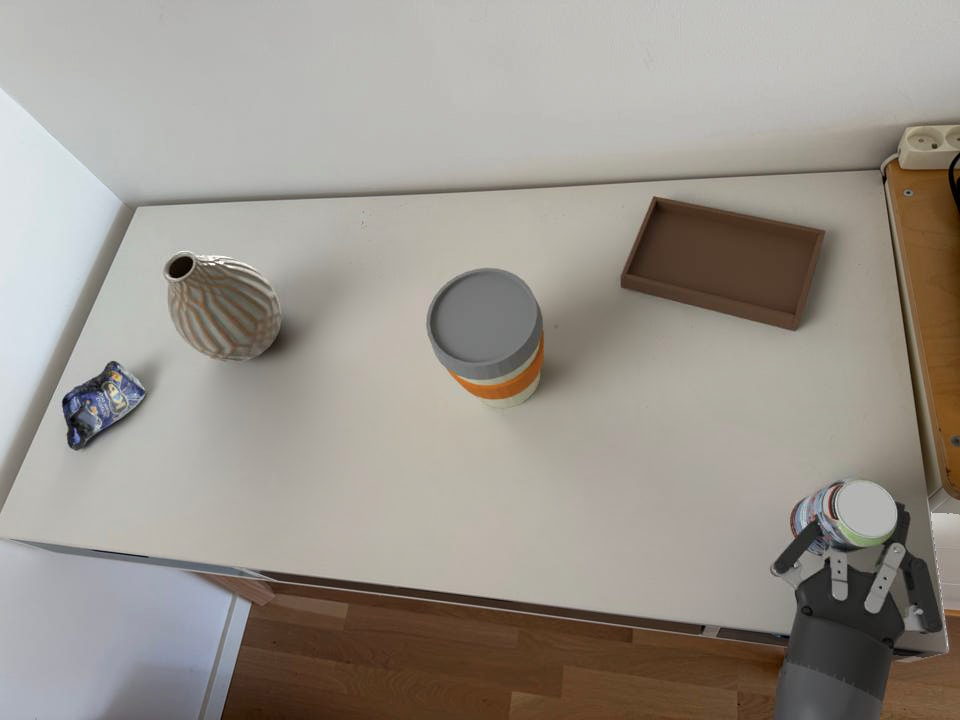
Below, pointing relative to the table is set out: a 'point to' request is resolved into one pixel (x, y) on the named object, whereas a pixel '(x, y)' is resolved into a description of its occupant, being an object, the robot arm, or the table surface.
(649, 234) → the serving tray
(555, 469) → the table surface
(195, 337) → the vase
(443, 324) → the reusable coffee cup
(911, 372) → the table surface
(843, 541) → the beverage can
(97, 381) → the snack package
